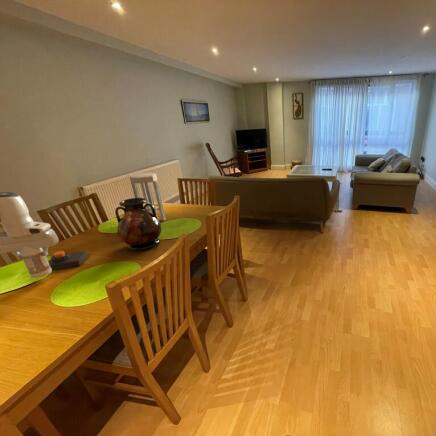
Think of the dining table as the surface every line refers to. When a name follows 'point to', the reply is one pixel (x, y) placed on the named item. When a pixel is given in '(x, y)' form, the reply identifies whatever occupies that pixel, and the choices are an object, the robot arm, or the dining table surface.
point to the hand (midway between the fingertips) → (34, 257)
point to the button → (59, 254)
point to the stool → (148, 191)
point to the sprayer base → (68, 260)
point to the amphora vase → (138, 225)
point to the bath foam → (35, 262)
